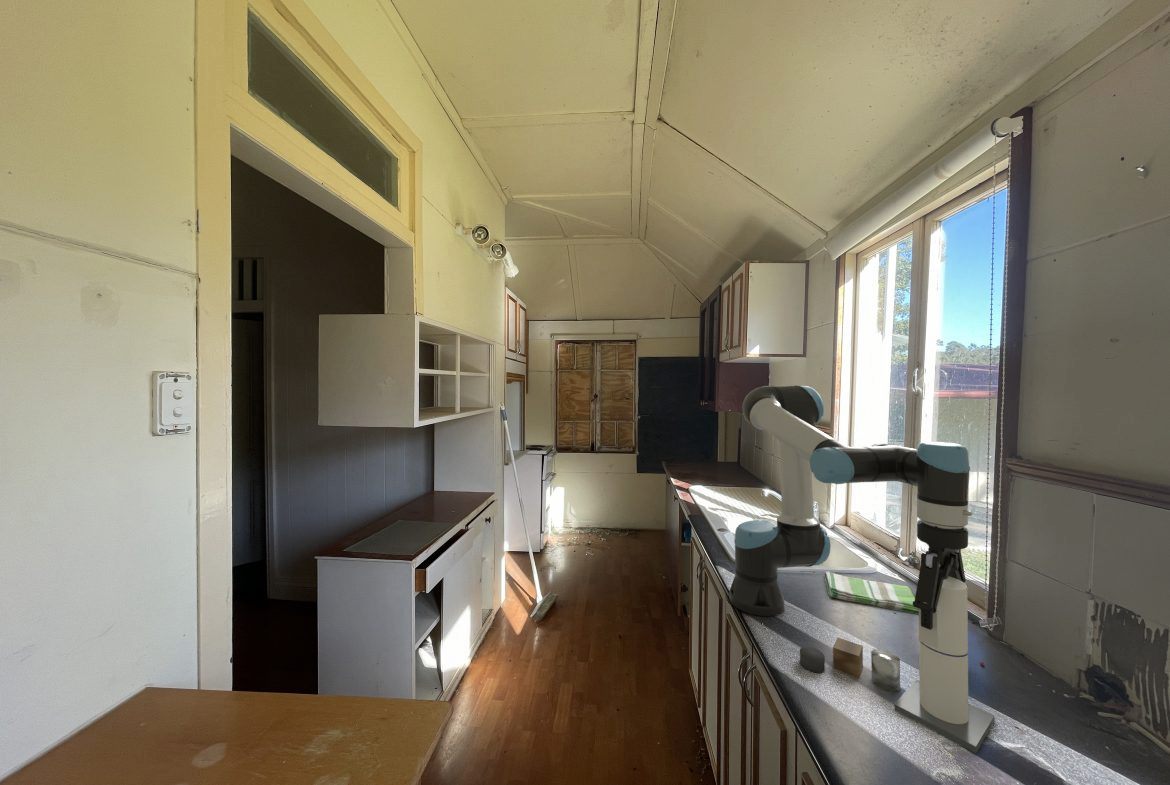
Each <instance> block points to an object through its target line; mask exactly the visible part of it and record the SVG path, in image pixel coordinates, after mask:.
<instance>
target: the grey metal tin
mask: <svg viewBox="0 0 1170 785" xmlns="http://www.w3.org/2000/svg"><path fill="white" fill-rule="evenodd" d="M870 652H871V653H870V654H871V655H870V658H871V666H870V668H871V673H870V674H871V682H872V683H873V685H874V686H876V688H878V689H880V690H882V691H885V692H888V693H898V692H900V691H901V660H900V657H899V656H898V655H897V654H895V653H893V652H892V651H888V650H886V649H881V648H875V649H872V650H871V651H870Z"/></svg>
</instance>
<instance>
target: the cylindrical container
mask: <svg viewBox="0 0 1170 785" xmlns="http://www.w3.org/2000/svg"><path fill="white" fill-rule="evenodd" d="M967 585H968V584H967ZM967 585H966V582H965V583H964V582H962V581H960V580H958V579H956V578H953V577H950V576H948V578H947V579H945V580H943V584H942V588H941V592H940V596H939V601H938V605H937V611H938V612H939V616H938V647H937V648H935V647H933V646H930V645H928V644H926V643H923V642H921V641H919V640H918V644H919V645H918V648H919V649H918V652H919V653H918V656H919V658H918V659H919V661H918V662H919V663H918V664H919V666H918V667H919V668H918V670H919V672H918V673H919V674H918V676H919V679H918V680H919V681H920V704H921V706H922V707H923V708H924V709H925V710H926V711H927V712H929V713H930V714H931V715H933V716H935V717H937V718H939V719H941V720H943V721H946V722H949V723H953V724H964V723H966V722H968V703H969V643H968V642H969V639H968V638H969V630H968V628H969V626H968V625H969V624H968V621H969V619H968V615H969V614H968V612H969V611H968V607H969V606H968V587H967ZM924 603H925V602H924Z"/></svg>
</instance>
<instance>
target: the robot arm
mask: <svg viewBox="0 0 1170 785" xmlns="http://www.w3.org/2000/svg"><path fill="white" fill-rule="evenodd" d="M741 408H742V413H743V416H744V418H745V419H746V422H748V424H750V425H751V426H753V427H754V428H756V429H757V430H759V431H766V432H767V433H769V435H771V436H772V437H774V438H776V440H778V446H779V447H778V448H779V449H778V450H779V472H780V475H779V476H780V497H781V514H779V515H778V516H777V517H776V524H774V522H771V521H767V520H758V519H757V520H748V521H745V522H741V523H740V524H738V526H737V527H736V529H735V534H734V541H733V542H734V557H735V558H734V563H735V564H734V566H735V575H734V576H733V580H732V583H731V586H730V589H729V601H730V602H729V603H731V605H732V606H734V607H735V608H736V609H738V610H740V611H742V612H745V613H747V614H750V615H754V616H759V617H760V616H761V617H774V616H777V615H780V614H782V613H783V612H784V611H785V598H784V595H783V593H782V589H781V586H780V583H779V581H778V580H779V579H778V577H779V576H778V573H779V572H778V569H784V568H800V567H808V568H811V567H813V566H819V565H822V564H824V563H825V562H826V561H827V560H828V559H829V557H830V554H831V539H830V537H829V536H828V532H827V530H826V529H825V528H824V527H823V526H822V525H821V522H820V520H819V519H818V518H817V517H816V516H815V514H814V492H813V489H814V488H813V477H814V478H815V479H816V480H817V481H819V482H821V483H823V484H835V485H842V484H857V483H883V482H885V483H886V482H898V483H899V482H900V483H904V484H907V485H911V486H914V487H916V489H917V490H916V491H917V492H916V517H917V518H918V520H917V521H916V538H917V539H918V540H919V541H920V542H922V543H925V544H926V545H927V546H928V550H926V551H925V553H924V552H922V553H921V554H920V568H919V574H918V577H917V578H918V579H917V586H916V591H915V596H914V597H915V601H913V606H914V607H916V608H919V614H918V642H919V641H921V642H923V643H926V644H928V645H930V646H933V647H935V648H937V647H938V616H939V612H938V611H937V605H938V601H939V596H940V592H941V588H942V584H943V580H945V579H947V578H948V576H950V577H953V578H956V579H958V580H960V581H962V582H964V583H965V584H966V581H967V579H966V575H965V574H966V573H965V569H964V563H963V556H962V550H965V549H967V548H968V546H969V529H968V528H967V527H966V526H968V524H969V517H972V515H973V512H972V510H968V508H969V479H970V471H971V466H970V462H969V461H970V460H969V451H968V449H967V448H966V446H964V445H962V444H959V443H955V442H954V443H953V442H943V441H922V442H920V443H918V444H917V449H916V448H911V447H906V446H900V445H896V444H894V443H893V444H892V443H874V444H873V445H872V444H871V445H870V446H848V445H846V444H844V443H842V442H840V441H838V440H837V439H834V438H833V437H832V436H830V435H828V434H827V433H825V432H823V431H821V430H820V429H818V428H816V424H818V423H819V422H820V421H822V420H823V417H824V414H825V406H824V401H823V399H822V397H821V395H820V394H819V392H817V391H816V389H814V387H810V386H807V385H774V386H773V385H772V386H771V385H764V386H759V387H756V388H754V389H753V390H751V391H749V393H748V394H747V395H746V396H745V398H744V399H743V402H742V407H741ZM966 585H967V588H968V587H969V586H968V585H969V584H966ZM924 602H925V603H924Z"/></svg>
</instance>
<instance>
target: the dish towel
mask: <svg viewBox="0 0 1170 785" xmlns="http://www.w3.org/2000/svg"><path fill="white" fill-rule="evenodd" d="M824 580H825V583H826V587H827V593H828V594H827V595H828V596H829V598H831V599H837V600H841V601H847V602H850V603H851V602H852V603H857V604H863V605H867V606H868V605H869V606H874V607H879V608H885V609H889V610H894V611H899V612H906V613H911V614H917V615H919V608H916V607H914V606H913V601H915V596H914V594H913V592H912V590H911V588H910V587H909V586H907V585H899V584H893V583H887V582H882V581H875V580H868V579H863V578H858V577H852V576H851V577H850V576H844V575H841V574H837V573H834V572H832V571H829V570H828V571H824Z"/></svg>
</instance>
